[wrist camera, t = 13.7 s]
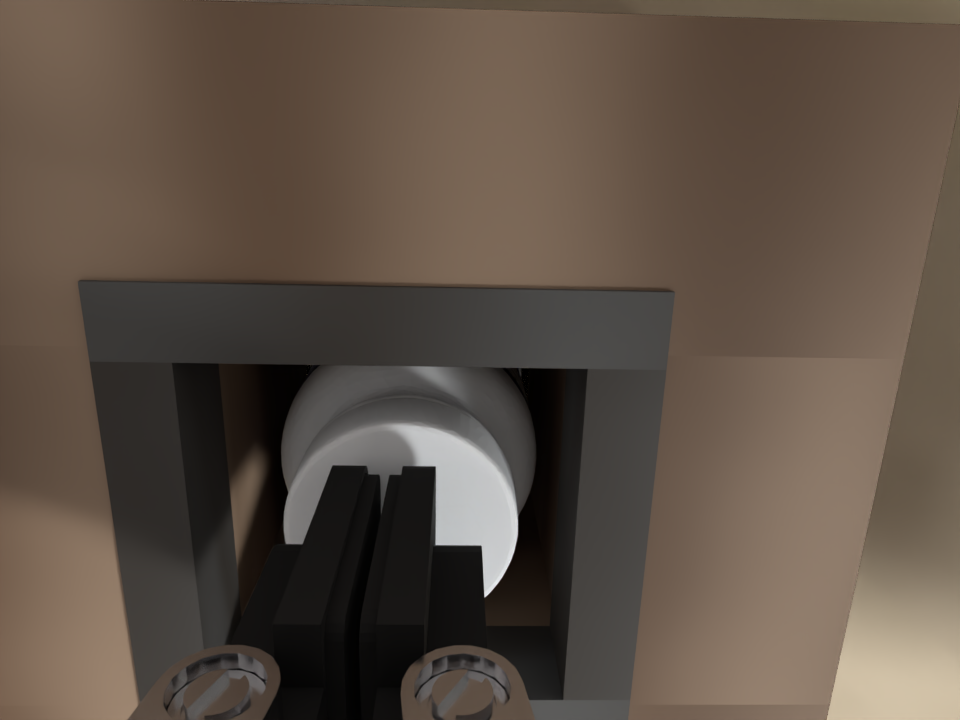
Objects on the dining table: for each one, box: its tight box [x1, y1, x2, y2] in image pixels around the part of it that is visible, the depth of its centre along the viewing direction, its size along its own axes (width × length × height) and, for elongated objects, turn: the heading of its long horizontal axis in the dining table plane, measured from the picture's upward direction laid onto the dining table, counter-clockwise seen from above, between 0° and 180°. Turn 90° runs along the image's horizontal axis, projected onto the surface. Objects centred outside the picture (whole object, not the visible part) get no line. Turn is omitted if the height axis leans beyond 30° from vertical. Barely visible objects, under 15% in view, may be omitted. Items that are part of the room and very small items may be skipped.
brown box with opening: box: [0, 0, 960, 720], centre depth 16 cm, size 16×16×10 cm
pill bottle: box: [281, 365, 536, 597], centre depth 16 cm, size 5×5×9 cm
